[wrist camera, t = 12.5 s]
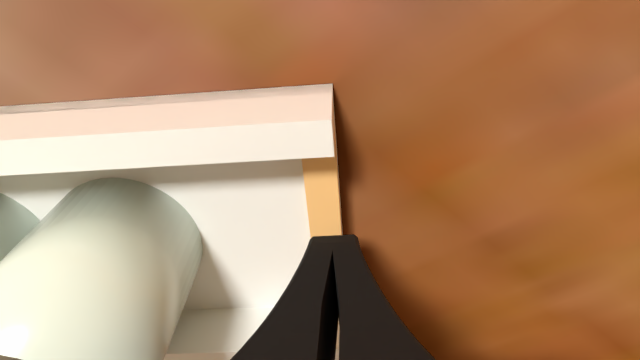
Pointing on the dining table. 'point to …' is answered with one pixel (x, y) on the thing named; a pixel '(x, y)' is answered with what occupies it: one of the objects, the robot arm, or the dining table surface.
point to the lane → (198, 186)
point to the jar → (100, 276)
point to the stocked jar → (13, 224)
